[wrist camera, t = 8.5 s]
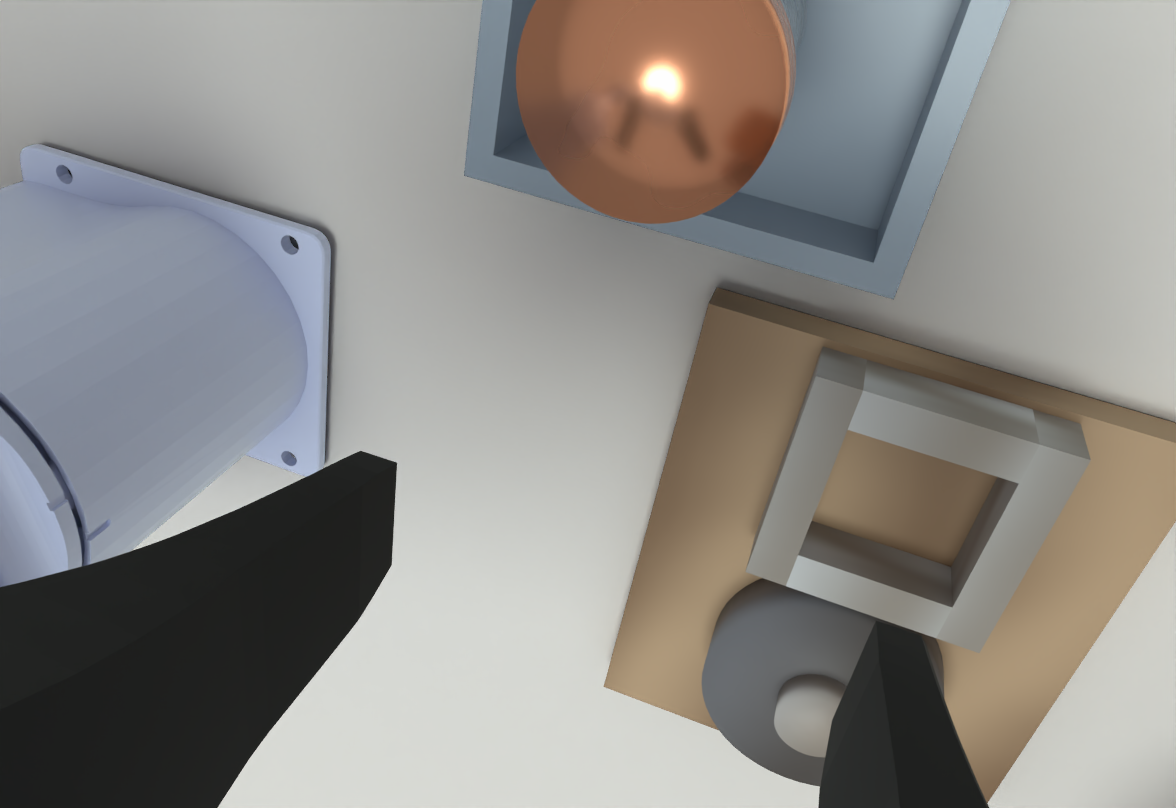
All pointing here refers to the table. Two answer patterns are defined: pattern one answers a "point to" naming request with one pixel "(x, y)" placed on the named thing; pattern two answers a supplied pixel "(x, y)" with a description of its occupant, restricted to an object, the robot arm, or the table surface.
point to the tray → (800, 136)
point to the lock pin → (656, 98)
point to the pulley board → (880, 535)
